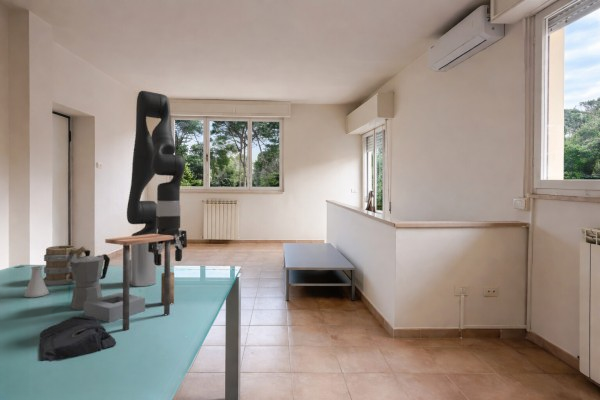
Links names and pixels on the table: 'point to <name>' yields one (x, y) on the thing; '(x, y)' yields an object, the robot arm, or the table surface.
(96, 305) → the socket
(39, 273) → the flask
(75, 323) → the dark slate chunk
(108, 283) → the table surface
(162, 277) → the peg
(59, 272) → the tankard
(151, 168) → the robot arm
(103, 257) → the coffeepot
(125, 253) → the small wooden table
